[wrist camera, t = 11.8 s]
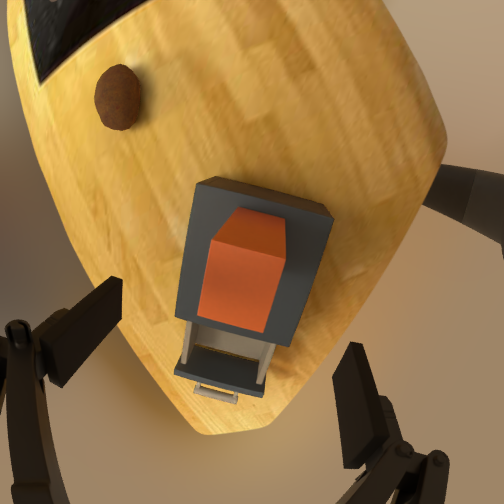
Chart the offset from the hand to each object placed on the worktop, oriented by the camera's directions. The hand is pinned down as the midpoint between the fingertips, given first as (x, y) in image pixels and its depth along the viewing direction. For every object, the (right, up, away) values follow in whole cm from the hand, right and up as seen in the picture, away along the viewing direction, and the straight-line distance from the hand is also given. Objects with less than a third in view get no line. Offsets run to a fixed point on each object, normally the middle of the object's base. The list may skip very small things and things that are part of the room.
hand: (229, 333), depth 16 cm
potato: (-17, +26, +20) cm, 37 cm away
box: (+1, +6, +16) cm, 17 cm away
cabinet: (+2, +5, +26) cm, 26 cm away
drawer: (-2, -8, +29) cm, 31 cm away
